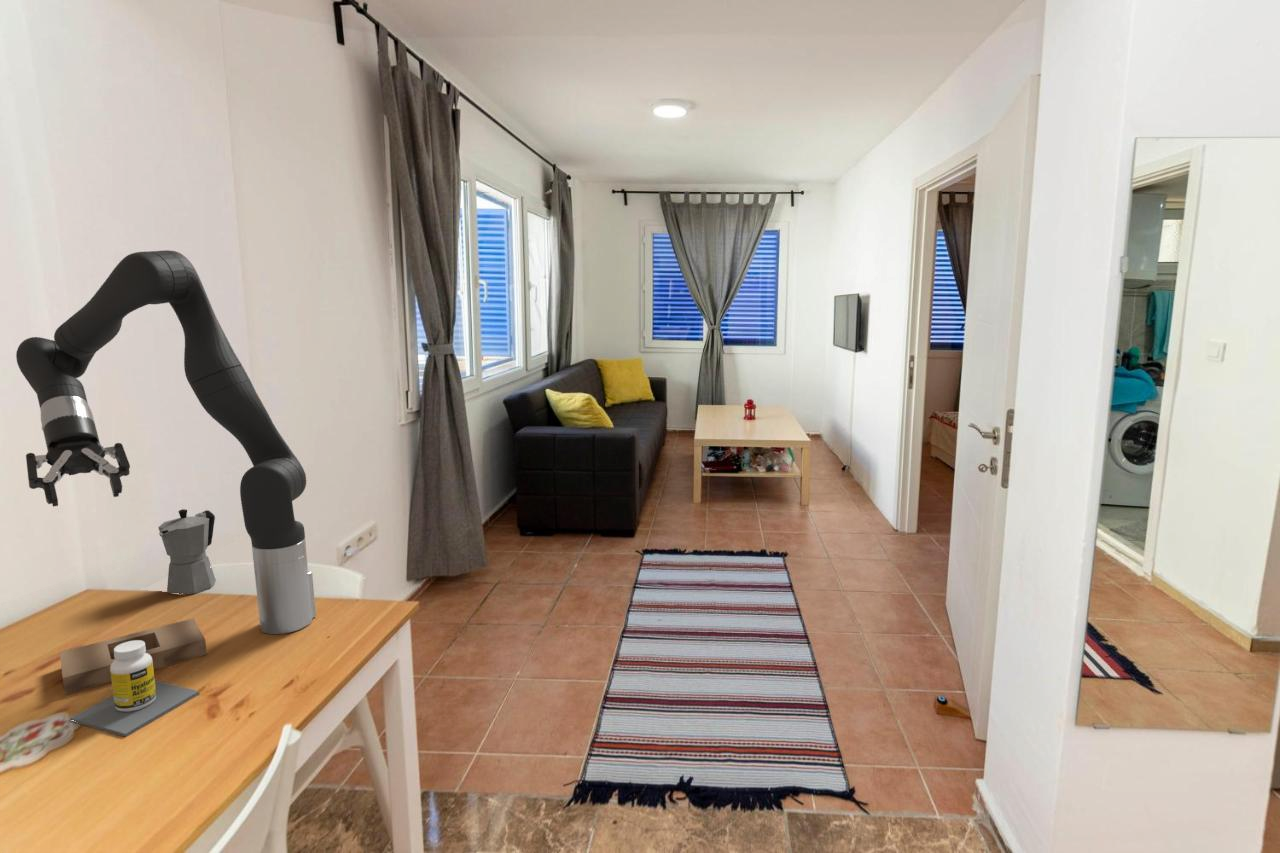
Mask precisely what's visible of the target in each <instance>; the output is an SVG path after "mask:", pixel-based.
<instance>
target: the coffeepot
mask: <svg viewBox="0 0 1280 853" xmlns="http://www.w3.org/2000/svg"><path fill="white" fill-rule="evenodd" d="M178 514H179V517H178V518H174V519H170V520H167V521H164V522H163V523H161V524H159V526H158V531H159V534H158V535H159V536H160V537H161V540H162V543H163V546H164V548H165V552H166V555H167V556H169V560H170V561H169V564H168V573H167V587H166V588H167V589H166V592H167V593H169V594H170V593H179V594H182V593H183V594H188V593H189V594H190V595H195V594H199V593H202V592H205V591H207V590H209V589H211V588H213V587H214V585H215V583H216V581H217V580H216V577H215V573H214V571H213V570H214V569H213V568H210V566H211V567H212V565H211V560H210V558H209V556H208V555H207V552H206V550H207V548H208V547H209V546H210V545H212V542H213V535H214V526H215V522H216V517H215V514H214V513H213V512H212V511H210V510H207V509H206V510H204V511H201V512H199V513H196V514H195V515H194V516H188V509H183V508H182V509H179V510H178Z"/></svg>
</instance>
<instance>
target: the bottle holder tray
mask: <svg viewBox="0 0 1280 853" xmlns="http://www.w3.org/2000/svg"><path fill="white" fill-rule="evenodd" d="M134 640H141V641H144V642H145V647H146V652H145V653H148V654H150V655H151V657H152V661H153V669H154V670H157V669H160V668H165V667H168V666H170V665H171V666H172V665H175V664H178V663H181V662H182V663H183V662H185V661H189V660H192V659H196V658H199V657H202V656H206V655H207V654H208V652H207V651H208V650H207V646H206V645H207V644H206V638H205V635H203V633H202V631H201V629H200V627H199V625H198V623H197V622H196V620H195V618H194V617H192V618H188V619H185V620H182V621H177V622H173V623H169V624H165V625H161V626H157V627H154V628H150V629H146V630H142V631H138V632H137V631H136V632H134V633H130V634H129V633H128V634H125V635H122V636H118V637H114V638H110V639H106V640H102V641H98V642H95V643H94V642H93V643H89V644H87V645H81V646H79V647H75V648H71V649H67V650H62V651H59V658H60V659H59V660H60V666H61V675H62V681H63V688H64V692H65V693H64V694H65V696H67V695H71V694H73V693H77V692H80V691H84V690H87V689H92V688H94V687H95V688H96V687H99V686H101V685H104V684H108V683H112V680H111V672H110V666H111V664H112V663H113V661H115V660H116V659H115V657H114V648H115V647H116V646H118V645H120V644H122V643H125V642H128V641H134Z"/></svg>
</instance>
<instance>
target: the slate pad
mask: <svg viewBox="0 0 1280 853" xmlns="http://www.w3.org/2000/svg"><path fill="white" fill-rule="evenodd" d="M155 687H156V699H155V700H154V701H153V702H152V703H151V704H149V705H148V706H146V707H144V708H142V709H139V710H135V711H129V712H122V711H118V710H117V709H116V708H115V704H114V696H113V694H112V695H111V696H109V697H107V698H105V699H103V700H102V701H99V702H97V703H95V704H93V705H91V706H90V707H87V708H86V709H84V710H82V711H80V712H78V713H76V714H74V715H72V716H70V717H69V721H70V720H74V721H76V722H78V723H77V724H80V725H84V726H85V727H90V728H94V729H97V730H101V731H104V732H108V733H111V734H116V735H118V736H123V737H128V736H130V735H132V734H133V733H135V732H137V731H139V730H140V729H141V728H143V727H146V726H147V725H149V724H150V723H152V722H153V721H156V720H157V719H159V718H161V717H162V716H164V715H165V714H168V713H170V712H171V711H172V710H174V709H177V708H178V707H180V706H181V705H183V704H185V703H186V702H188V701H190V700H192V699H193V698H195V697H196V696H198V695H200V694H201V693H200V690H196V689H193V688H188V687H186V686H185V687H184V686H180V685H176V684H172V683H167V682H165V681H160V680H156V679H155ZM76 722H75V723H76Z"/></svg>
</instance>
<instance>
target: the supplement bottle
mask: <svg viewBox="0 0 1280 853" xmlns="http://www.w3.org/2000/svg"><path fill="white" fill-rule="evenodd" d="M145 652H146V647H145V642H144V641H141V640H134V641H128V642H125V643H122V644H120V645H118V646H116V647H115V648H114V657H115V659H116V660H115V661H113V663H112V664H111V666H110V672H111V680H112V682H111V688H112V695H113V696H114V704H115V708H116V709H117V710H118V711H122V712H129V711H135V710H139V709H142V708H144V707H146V706H148V705H149V704H151V703H152V702H153V701H154V700H155V699H156V687H155V680H156V679H155V678H156V677H155V671H154V670H155V669H153V661H152V657H151V655H150V654H148V653H145Z"/></svg>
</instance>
